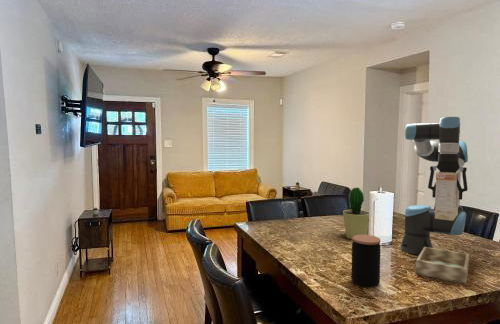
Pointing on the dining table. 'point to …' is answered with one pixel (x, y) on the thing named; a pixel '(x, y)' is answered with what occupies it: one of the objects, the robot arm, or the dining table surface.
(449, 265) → the crate
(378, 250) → the coffee jar
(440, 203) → the coffeecake box
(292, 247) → the dining table surface
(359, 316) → the dining table surface
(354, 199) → the potted cactus
